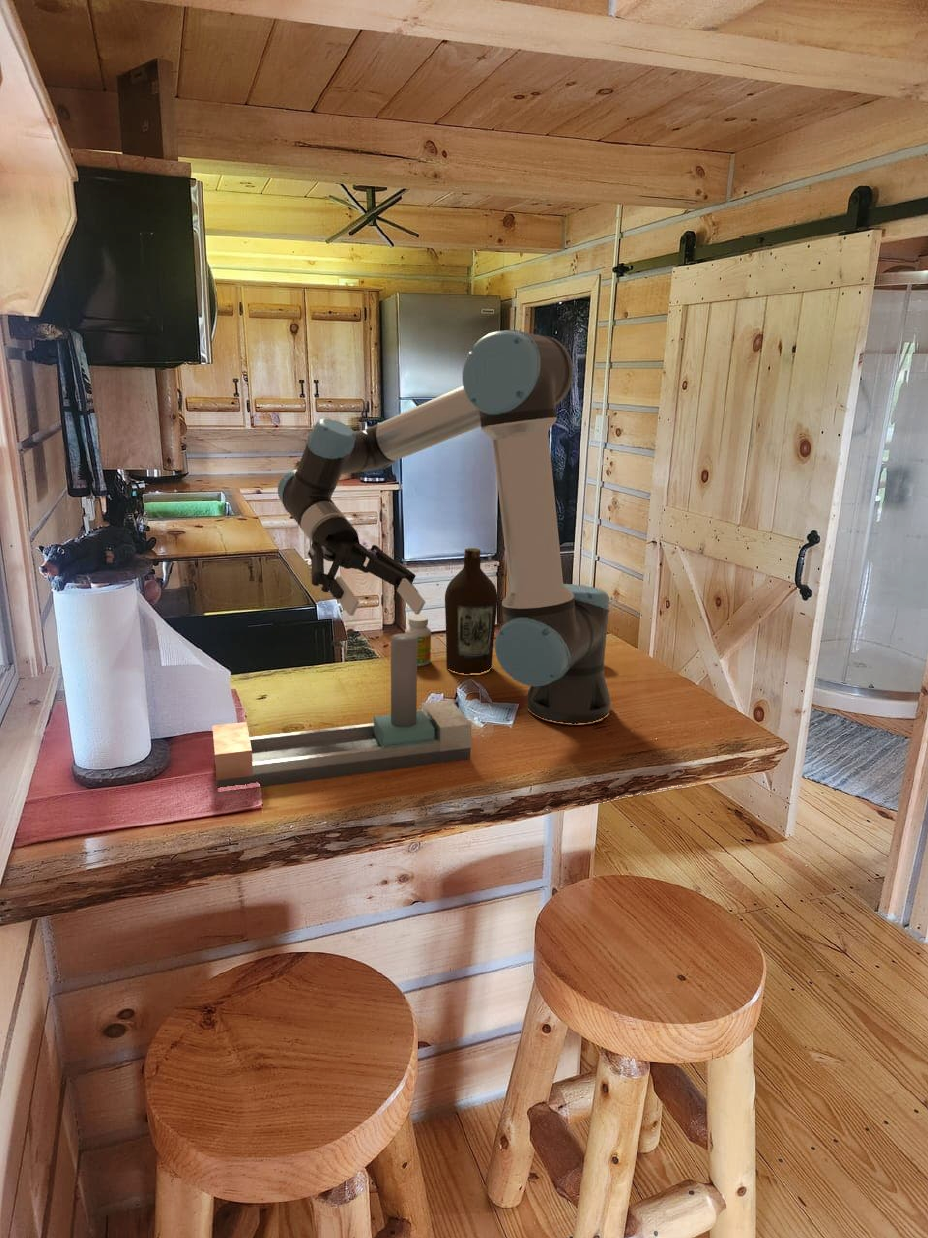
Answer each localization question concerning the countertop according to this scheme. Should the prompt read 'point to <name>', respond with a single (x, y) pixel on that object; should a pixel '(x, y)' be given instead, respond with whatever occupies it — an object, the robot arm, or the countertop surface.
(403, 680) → the carriage
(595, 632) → the robot arm
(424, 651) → the supplement bottle
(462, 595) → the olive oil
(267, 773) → the rail track
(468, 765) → the countertop surface
